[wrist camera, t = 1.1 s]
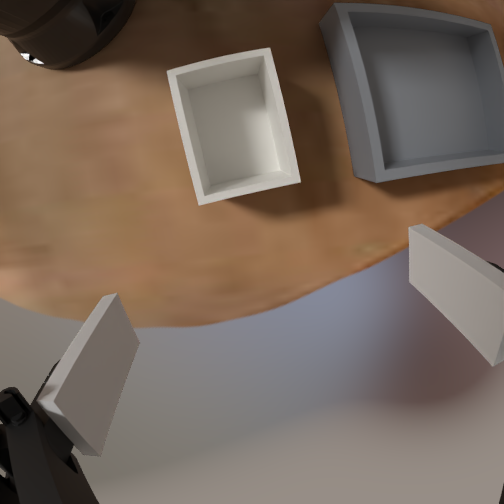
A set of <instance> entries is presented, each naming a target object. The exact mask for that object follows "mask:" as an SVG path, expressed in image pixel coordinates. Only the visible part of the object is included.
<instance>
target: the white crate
mask: <svg viewBox="0 0 504 504" xmlns="http://www.w3.org/2000/svg"><path fill="white" fill-rule="evenodd" d="M167 75H168V80H169V85H170V89H171V94H172V98H173V102H174V107H175V111H176V115H177V120H178V124H179V128H180V132H181V137H182V141H183V145H184V149H185V153H186V157H187V161H188V165H189V169H190V173H191V177H192V181H193V185H194V189H195V192H196V196H197V200H198V204H199V205H203V204H207V203H211V202H215V201H219V200H223V199H227V198H232V197H236V196H240V195H245V194H249V193H253V192H258V191H262V190H267V189H271V188H276V187H281V186H285V185H290V184H295V183H300V182H301V180H300V175H299V170H298V165H297V160H296V155H295V151H294V146H293V141H292V137H291V132H290V127H289V123H288V119H287V114H286V110H285V106H284V101H283V97H282V93H281V89H280V85H279V81H278V77H277V73H276V69H275V65H274V61H273V57H272V54H271V50H270V48H264V49H258V50H252V51H246V52H241V53H236V54H231V55H226V56H221V57H217V58H213V59H208V60H204V61H200V62H196V63H193V64H189V65H185V66H182V67H178V68H175V69H171V70H168V71H167Z"/></svg>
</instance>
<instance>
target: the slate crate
mask: <svg viewBox="0 0 504 504" xmlns="http://www.w3.org/2000/svg"><path fill="white" fill-rule="evenodd" d="M319 26H320V29H321V32H322V36H323V39H324V42H325V46H326V49H327V53H328V57H329V60H330V64H331V68H332V72H333V75H334V79H335V83H336V88H337V92H338V96H339V100H340V105H341V109H342V114H343V119H344V123H345V128H346V133H347V138H348V144H349V149H350V155H351V160H352V166H353V173H354V176H355V177H358V178H362V179H365V180H369V181H372V182H375V183H379V182H384V181H390V180H395V179H401V178H407V177H413V176H419V175H425V174H431V173H437V172H443V171H450V170H456V169H463V168H470V167H477V166H484V165H491V164H499V163H504V67H503V63H502V59H501V56H500V52H499V49H498V45H497V42H496V39H495V36H494V33H493V30H492V27H491V24H487V23H484V22H480V21H477V20H473V19H469V18H465V17H461V16H456V15H452V14H447V13H442V12H437V11H431V10H425V9H418V8H411V7H403V6H394V5H382V4H366V3H334V4H333V5H332V6H331V7H330V9H329V10H328V11H327V13H326V14H325V15H324V17H323V18H322V19H321V21H320V22H319Z"/></svg>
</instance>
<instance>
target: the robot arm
mask: <svg viewBox="0 0 504 504" xmlns="http://www.w3.org/2000/svg"><path fill="white" fill-rule="evenodd" d="M135 1H136V0H0V35H2V36H5V37H7V38H8V39H9V41H10V42H11V43H12V44H13V46H14V47H15V48H16V49H17V50H18V52H19V53H20V54H21V55H22V56H23V57H24V58H25V59H26V60H27V61H28V62H30V63H32V64H34V65H37V66H40V67H44V68H47V69H62V68H67V67H70V66H73V65H76V64H78V63H81V62H83V61H85V60H86V59H88V58H90V57H91V56H93V55H94V54H96V53H97V52H99V51H100V50H101V49H102V48H104V47H105V46H106V45H107V44H108V43H109V42H110V41H111V40H112V39H113V38H114V37H115V36H116V35H117V34H118V32H119V31H120V30H121V29H122V27H123V26H124V24H125V23H126V21H127V20H128V18H129V16H130V14H131V12H132V10H133V7H134V5H135ZM409 282H410V283H411V284H412V285H413V286H414V287H415V288H416V289H417V290H418V291H420V292H421V293H422V294H423V295H424V296H425V297H426V298H427V299H428V300H429V301H430V302H431V303H432V304H433V305H434V306H435V307H436V308H437V309H438V310H439V311H440V312H441V313H443V315H444V316H445V317H446V318H447V319H448V320H449V321H450V322H451V323H452V324H453V325H454V326H455V327H456V328H457V329H458V330H459V331H460V332H461V333H462V334H463V335H464V336H465V337H466V338H467V339H468V340H469V341H470V343H472V345H474V347H475V348H476V349H477V350H478V351H479V352H480V353H481V354H482V355H483V357H484V358H485V359H486V360H487V361H488V362H489V363H490V364H491V365H492V366H493V367H494V366H495V365H497V364H499V363H500V362H502V361H504V269H502V268H501V267H499V266H498V265H496V264H494V263H490V262H488V261H485V260H483V259H481V258H480V257H478V256H476V255H475V254H473V253H472V252H470V251H468V250H467V249H465V248H463V247H462V246H460V245H458V244H457V243H455V242H453V241H452V240H450V239H448V238H446V237H445V236H443V235H441V234H439V233H438V232H436V231H434V230H432V229H431V228H429V227H427V226H425V225H423V224H419V225H415V226H411V227H409ZM139 344H140V342H139V340H138V338H137V336H136V334H135V332H134V329H133V327H132V325H131V323H130V321H129V318H128V316H127V314H126V312H125V310H124V307H123V305H122V303H121V300H120V298H119V296H118V293H115V294H111V295H106V296H103V297H102V299H101V300H100V301H99V303H98V304H97V306H96V307H95V309H94V310H93V311H92V313H91V314H90V316H89V317H88V319H87V320H86V322H85V323H84V325H83V326H82V328H81V329H80V331H79V332H78V334H77V335H76V337H75V338H74V340H73V341H72V343H71V344H70V346H69V347H68V349H67V350H66V352H65V354H64V355H63V357H62V358H61V359H60V360H59V361H58V362H57V363H56V364H55V365H54V366H53V368H52V370H51V371H50V373H49V376H47V378H46V379H45V381H44V382H45V383H43V384H42V386H41V388H40V389H39V391H38V393H37V395H36V396H35V398H34V400H33V402H32V403H31V405H29V404H28V402H27V401H26V400H25V398H24V397H23V396H22V394H21V393H20V392H19V390H18V389H17V388H15V387H9V388H6V389H4V390H2V391H1V392H0V420H1V422H2V423H3V424H0V468H1V469H2V470H4V471H5V472H6V477H5V478H4V477H2V475H0V504H99V502H98V501H97V499H96V497H95V495H94V493H93V491H92V490H91V488H90V486H89V484H88V482H87V480H86V478H85V476H84V474H83V471H82V469H81V468H80V465H79V463H78V461H77V458H76V457H75V456H74V455H73V454H72V453H71V451H72V448H73V446H75V447H76V448H77V449H78V450H79V451H80V452H81V453H82V454H83V455H90V456H101V454H102V450H103V447H104V444H105V441H106V437H107V434H108V431H109V428H110V425H111V422H112V419H113V416H114V413H115V410H116V407H117V404H118V401H119V398H120V395H121V392H122V390H123V387H124V384H125V381H126V379H127V376H128V373H129V370H130V368H131V365H132V362H133V360H134V357H135V354H136V352H137V349H138V346H139ZM499 504H504V485H503V490H502V494H501V498H500V501H499Z"/></svg>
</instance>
